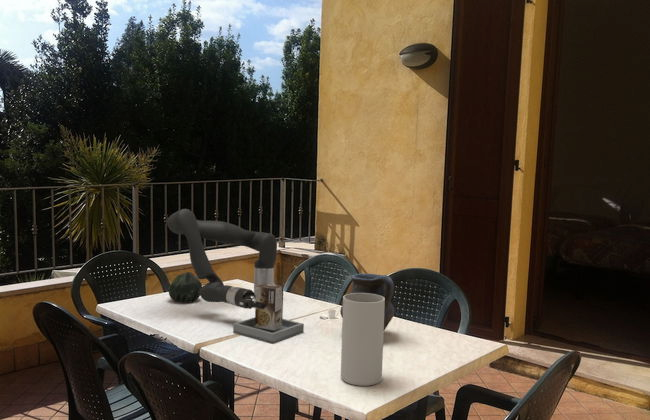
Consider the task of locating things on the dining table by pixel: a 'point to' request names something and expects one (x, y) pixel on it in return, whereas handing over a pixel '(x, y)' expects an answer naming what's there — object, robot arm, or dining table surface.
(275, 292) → the coffee box
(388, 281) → the pitcher
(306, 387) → the dining table surface
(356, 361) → the cylinder vase
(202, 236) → the robot arm
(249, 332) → the tray
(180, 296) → the squash
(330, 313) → the teacup and saucer
